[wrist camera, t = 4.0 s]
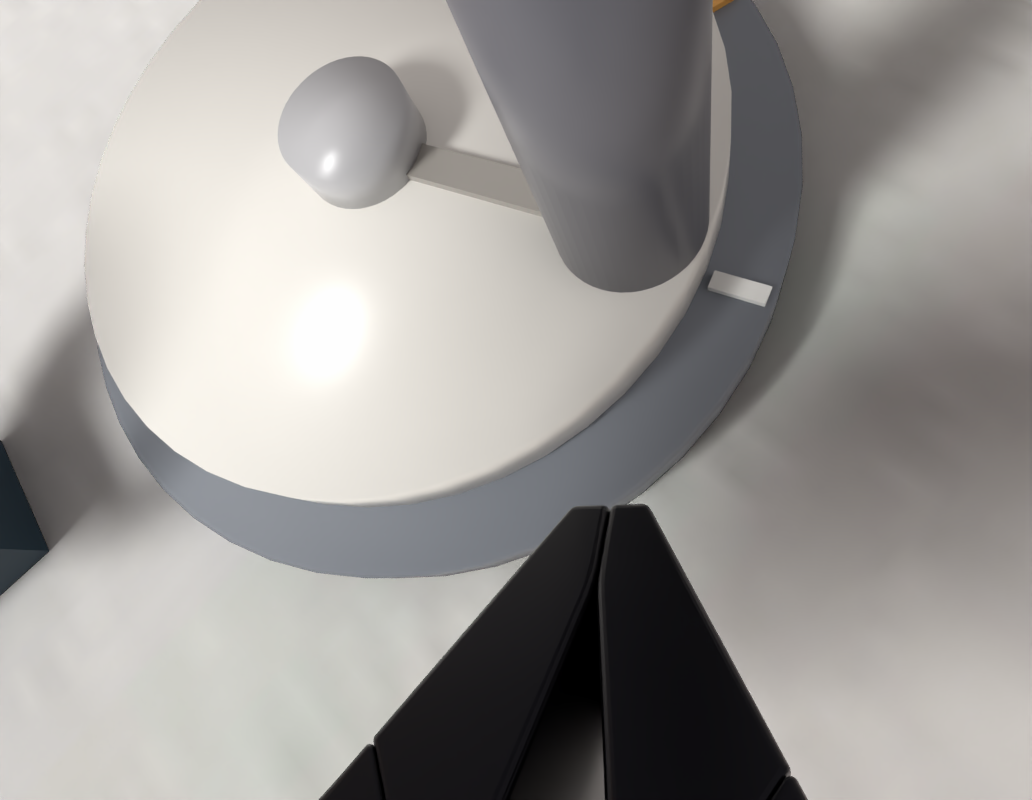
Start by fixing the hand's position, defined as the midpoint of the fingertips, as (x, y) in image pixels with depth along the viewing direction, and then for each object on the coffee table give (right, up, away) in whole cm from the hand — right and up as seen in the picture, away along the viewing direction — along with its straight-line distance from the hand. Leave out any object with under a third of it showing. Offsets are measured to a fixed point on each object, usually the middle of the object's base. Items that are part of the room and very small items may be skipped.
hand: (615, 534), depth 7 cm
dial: (-4, +7, +9) cm, 12 cm away
